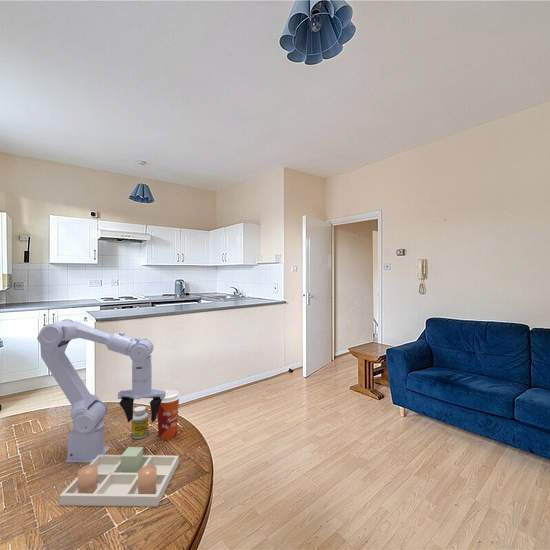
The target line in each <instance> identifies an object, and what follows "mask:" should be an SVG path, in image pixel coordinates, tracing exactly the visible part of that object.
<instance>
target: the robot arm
mask: <svg viewBox="0 0 550 550" xmlns="http://www.w3.org/2000/svg"><path fill="white" fill-rule="evenodd" d="M76 339H83V340H87V341H90V342H93V343H94V342H95V343H98V344H102V345H104V346H106V348H107V350H109V351H111V352H114V353H116V354H119V355H120V354H121V355H124V356H127V357H129V358H130V359H131V361H132V364H131V378H132V379H131V389H128V390H120V391H119V392H118V393H117V399H118V400H120V401H119V405H120V407H121V408H122V410H123V411H124V414H125V417H126V420H127V422H128V423H130V422H132V419H133V415H134V401H135V400H140V399H152V400H150V401H149V406H150V411H151V415H150V416H151V417H150V421H151V423H152V422H153V423H154V422H155V421H156V420H157V412H158V409H159V406H160V404H161V401H162V399H164V398H165V397H166V391H165V390H160V389H159V390H158V389H154V388H152V387H153V386H152V383H153V382H152V379H153V378H152V377H153V374H152V372H153V371H152V369H153V368H152V366H153V365H152V355H151V354H152V353H153V352H154V344H153V342H151V341H150V340H149V339H148V338H142V339H140V337H137V336H136V337H132V336H130V335H126V334H125V332H123V331H120V332H114V333H112V334H110V333H108V332H105V331H103V330H101V329H97V328H95V327H92V326H89V325H87V324H84V323H82V322H81V321H76V320H72V319H70V318H69V319H67V318H66V319H63V320H60V321H58V322H57V321H56V322H54V323H48V324H46V325H44V326H43V327H41V329H40V331H39V333H38V335H37V337H36V340H37V341H38V343H39V344H40V345H39V346H40V347H39V349H40V357H41V359H42V361H43V363H44V364H45V365H46V367H47V368H48V370H49V371H50V373H51V375H52V376H53V379H54V380H55V381H56V383H57V384H58V386H59V388H60V390H61V391H62V392H63V394H64V396H65V398H66V399H67V401H68V402H69V403H70V405H71V410H70V413H69V415H70V417H71V420H72V426H73V428H72V429H71V431H70V432H69V435H68V436H67V447H66V448H67V459H66V460H65V462H66V463H67V462H68V463H91V462H92V461H93V460H94V459H95V458H96V457H97V456H98V455H105V454H106V452H107V451H108V450H109V449H110V448H111V446H107V445H105V421H104V420H105V419H104V417H106V415H107V414H108V410H109V409H108V405H107V404H106V402H104V401H102V400H101V399H100V398H99V397H98V395H95V394H91V393H90V391H89V389H88V388H87V386H86V384H85V383H84V382H83V380H82V379H81V376H80V375H79V374H78V372H77V370H76V368H75V367H74V365H73V363H72V362H71V361H70V359H69V357H68V356H67V354H66V349H67V347H68V345H69V343H70V342H71V341H72V340H76Z"/></svg>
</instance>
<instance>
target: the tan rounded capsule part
mask: <svg viewBox="0 0 550 550" xmlns="http://www.w3.org/2000/svg"><path fill="white" fill-rule="evenodd" d="M156 478H157V468H156V466H154V465H147V466H144V467H142V468H141V469H140V470H139V471H138V494H156Z"/></svg>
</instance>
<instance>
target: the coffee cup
mask: <svg viewBox="0 0 550 550" xmlns="http://www.w3.org/2000/svg"><path fill="white" fill-rule="evenodd" d="M164 391H166V397H165V398H164V399H162V401H161V404H160V406H159V409H158V412H157V417H156V419H157V429H158V430H157V431H158V438H160V439H159V440H162V441H170V440H172V439H174V438H175V437H176V436H177V433H178V421H179V420H178V417H179V403H180V397H181V395H180V392H179V391H178V390H177V389H176V390H175V389H166V390H164Z"/></svg>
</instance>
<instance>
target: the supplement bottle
mask: <svg viewBox="0 0 550 550" xmlns="http://www.w3.org/2000/svg"><path fill="white" fill-rule="evenodd" d="M148 434H149V414H148V412H147V407H146V406H144V405H141V406H140V405H139V406H136V407H133V419H132V420H131V437H132V438H133V439H135V440H138V439H143V438H145V437H147V436H148Z"/></svg>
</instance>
